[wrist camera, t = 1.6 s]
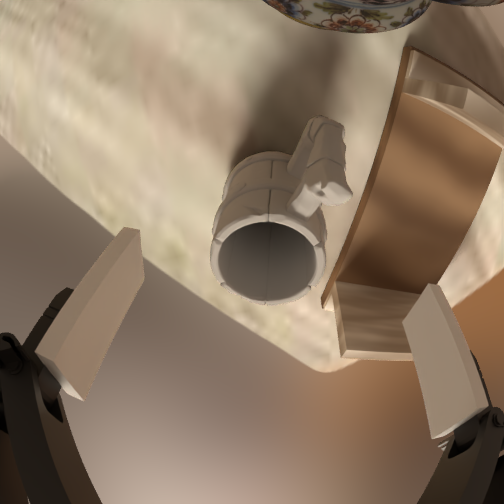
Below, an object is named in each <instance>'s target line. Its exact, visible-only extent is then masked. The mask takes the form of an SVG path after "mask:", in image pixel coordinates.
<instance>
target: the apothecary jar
mask: <svg viewBox="0 0 504 504" xmlns="http://www.w3.org/2000/svg"><path fill="white" fill-rule="evenodd" d="M263 1H264V2H266V3H267V4H268V5H270V6H272V7H273V8H275V9H277V10H278V11H279V12H281V13H282V14H284V15H285V16H287V17H289V18H291V19H293V20H295V21H297V22H299V23H302V24H305V25H308V26H311V27H315V28H319V29H325V30H335V31H341V32H349V33H378V32H384V31H390V30H394V29H398V28H401V27H403V26H405V25H408V24H410V23H412V22H413V21H415V20H416V19H418V18H419V17H420V16H421V15H422V14H423V13H424V12H425V11H426V10H427V8H428V7H429V5H430V4H431V2H432V1H435V2H440V3H446V4H453V5H460V6H491V5H495V4H500V3H502V2H504V0H263Z"/></svg>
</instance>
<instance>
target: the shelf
mask: <svg viewBox="0 0 504 504" xmlns="http://www.w3.org/2000/svg"><path fill="white" fill-rule="evenodd" d="M502 148H503V149H504V104H503V103H502V102H501V101H499V100H498V99H497V98H495V97H494V96H493V95H492V94H490V93H489V92H487V91H486V90H485V89H483V88H482V87H481V86H479V85H478V84H476V83H475V82H473V81H472V80H470V79H469V78H467V77H466V76H464V75H463V74H461V73H460V72H458V71H456V70H455V69H453V68H452V67H450V66H448V65H446V64H445V63H443V62H441V61H439V60H438V59H436V58H434V57H432V56H430V55H428V54H426V53H425V52H423V51H421V50H419V49H417V48H414V47H412V46H409V47H404V48H403V53H402V58H401V63H400V67H399V72H398V76H397V81H396V85H395V89H394V93H393V97H392V101H391V105H390V109H389V112H388V116H387V120H386V123H385V127H384V130H383V134H382V137H381V141H380V144H379V147H378V150H377V154H376V157H375V160H374V163H373V166H372V169H371V172H370V175H369V178H368V181H367V184H366V187H365V190H364V193H363V195H362V198H361V201H360V204H359V207H358V209H357V212H356V215H355V217H354V220H353V223H352V225H351V228H350V230H349V233H348V235H347V238H346V240H345V243H344V245H343V248H342V250H341V253H340V255H339V258H338V260H337V262H336V265H335V267H334V270H333V272H332V274H331V276H330V279H329V281H328V283H327V286H326V288H325V290H324V292H323V295H322V297H321V304H322V308H324V310H328V311H335V318H336V325H337V332H338V339H339V347H340V355H341V358H349V359H366V360H368V359H369V360H393V361H394V360H395V361H414V359H413V355H412V352H411V349H410V345H409V342H408V339H407V336H406V333H405V329H404V326H403V323H402V322H403V320H404V319H405V317H406V316H407V315H408V313H409V312H410V310H411V309H412V307H413V306H414V305H415V303H416V302H417V300H418V299H419V297H420V296H421V294H422V292H423V291H424V289H425V288H426V286H427V285H428V283H429V284H435V285H437V283H438V281H439V280H440V278H441V277H442V275H443V274H444V272H445V270H446V269H447V267H448V265H449V264H450V262H451V260H452V259H453V257H454V255H455V254H456V252H457V250H458V248H459V246H460V245H461V243H462V241H463V239H464V237H465V235H466V233H467V231H468V230H469V228H470V226H471V224H472V222H473V220H474V218H475V215H476V213H477V211H478V209H479V207H480V205H481V203H482V200H483V198H484V196H485V193H486V191H487V189H488V186H489V184H490V181H491V179H492V176H493V174H494V171H495V168H496V165H497V163H498V160H499V157H500V154H501V151H502Z"/></svg>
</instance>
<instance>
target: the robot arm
mask: <svg viewBox="0 0 504 504" xmlns="http://www.w3.org/2000/svg"><path fill="white" fill-rule="evenodd" d="M144 279H145V277H144V269H143V260H142V250H141V239H140V230H138V229H133V228H127V227H124V228H123V229H122V230H121V231H120V232H119V234H118V235H117V236H116V237H115V238H114V240H113V241H112V242H111V243H110V244H109V246H108V247H107V248H106V249H105V251H104V252H103V253H102V254H101V256H100V257H99V258H98V259H97V261H96V262H95V263H94V264H93V266H92V267H91V269H90V270H89V271H88V272H87V274H86V275H85V276H84V278H83V279H82V280H81V282H80V283H79V284H78V286H77V287H76V289H75V290H73V289H70V288H65V289H64V290H62V291H61V292H60V293H58V294H57V295H56V296H55V297H54V299H53V300H52V302H51V303H50V304H49V307H48V308H47V309H46V310H45V312H44V313H43V316H41V317H40V319H39V320H38V322H37V323H36V325H35V326H34V328H33V330H32V331H31V333H30V334H29V336H28V338H27V339H26V341H25V342H24V344H23V345H22V346H21V345H20V343H19V341H18V340H17V339H16V337H15V336H14V335H13V334H11V333H1V334H0V504H29V503H28V499H29V501H30V504H102V502H101V500H100V498H99V497H98V494H97V492H96V490H95V488H94V486H93V484H92V482H91V480H90V478H89V476H88V473H87V471H86V469H85V467H84V464H83V462H82V459H81V457H80V455H79V452H78V449H77V447H76V444H75V441H74V439H73V436H72V433H71V430H70V427H69V423H68V420H67V417H66V414H65V410H64V407H63V403H62V399H61V396H60V394H59V391H60V389H61V387H62V388H63V389H64V390H65V391H66V392H67V393H68V394H70V395H71V396H74V397H76V398H78V399H80V400H82V401H85V400H86V397H87V395H88V392H89V390H90V388H91V385H92V383H93V381H94V379H95V376H96V374H97V372H98V370H99V368H100V365H101V363H102V361H103V359H104V357H105V355H106V353H107V350H108V348H109V346H110V344H111V342H112V340H113V338H114V336H115V334H116V332H117V330H118V328H119V326H120V324H121V322H122V320H123V318H124V316H125V315H126V313H127V311H128V309H129V307H130V305H131V303H132V301H133V299H134V298H135V296H136V294H137V292H138V290H139V288H140V287H141V285H142V283H143V281H144ZM402 323H403V326H404V329H405V333H406V336H407V339H408V342H409V345H410V349H411V352H412V355H413V359H414V362H415V366H416V370H417V374H418V377H419V381H420V385H421V389H422V394H423V398H424V403H425V407H426V412H427V417H428V422H429V427H430V433H431V438H432V439H434V438H438V437H442V436H444V435H446V434H448V433H450V432H451V431H453V430H454V435H452V436H450V437H449V438H447V439H445V440H443V441H442V442H440V444H439V445H438V447H440V446H442V445H444V444H446V443H447V445H445V446H444V447H442V450H444V452H443V455H442V457H441V459H440V461H439V463H438V466H437V468H436V470H435V472H434V474H433V476H432V478H431V480H430V482H429V484H428V485H427V487H426V489H425V491H424V493H423V494H422V496H421V498H420V499H419V501H418V503H417V504H504V455H502V456H500V457H499V453H500V451H502V450H504V413H503V411H501V409H500V408H498V407H492V404H491V401H490V397H489V394H488V391H487V388H486V385H485V382H484V379H483V378H482V373H481V371H480V370H479V369H480V368H479V365H478V362H477V360H476V358H475V356H474V355H473V353H472V352H471V350H469V347H468V345H467V342H466V340H465V338H464V335H463V333H462V331H461V328H460V327H459V324H458V322H457V320H456V318H455V315H454V313H453V311H452V309H451V307H450V305H449V303H448V301H447V299H446V297H445V295H444V293H443V291H442V289H441V288H440V286H439V285H435V284H429V283H428V285H427V286H426V288H425V289H424V291H423V292H422V294H421V296H420V297H419V299H418V300H417V302H416V303H415V305H414V306H413V307H412V309H411V310H410V312H409V313H408V315H407V316H406V317H405V319H404V320H403V322H402ZM498 457H499V458H498ZM27 497H28V498H27Z"/></svg>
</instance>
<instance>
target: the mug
mask: <svg viewBox="0 0 504 504" xmlns="http://www.w3.org/2000/svg"><path fill="white" fill-rule="evenodd" d="M344 136H345V129H344V126H343V125H342V124H340V123H338V122H336V121H333V120H331V119H329V118H327V117H324V116H322V115H318V116H315V117H313V118H311V119H310V120H309V121H308V123H307V125H306V127H305V129H304V131H303V133H302V136H301V138H300V141H299V143H298V145H297V147H296V149H295V151H294V153H293V155H292V156H291V155H289V154H286V153H283V152H278V151H274V152H272V151H265V152H261V153H257V154H254V155H251V156H249V157H247V158H245V159H244V160H242V161H241V162H240V163H239V164H237V165H236V166H235V167H234V169H233V170H232V171H231V173H230V174H229V176H228V178H227V180H226V182H225V186H224V190H223V195H222V201H223V202H222V203H221V205H220V206H219V208H218V211H217V213H216V216H215V219H214V224H213V228H212V234H213V240H212V244H211V250H210V264H211V268H212V271H213V274H214V276H215V278H216V280H217V281H218V283H221V284H220V285H221V286H222V287H224V288H225V289H226V290H227V291H228V292H229V293H231V294H236V295H239V296H241V298H243V299H246V300H248V301H249V302H251V303H255V304H260V305H265V304H267V305H281V304H286V303H290V302H293V301H296V300H298V299H300V298H302V297H303V296H305V295H306V294H307V293H308V292H309V291H310V290H311V286H314V287H316V286H317V284H318V283H319V282H320V280H321V278H322V276H323V274H324V270H325V266H326V252H325V242H326V240H327V230H326V224H325V219H324V216H323V212H322V210H321V206H322V203H323V204H325V205H327V206H337V205H342V204H344V203H346V202H348V201H349V200H350V199H351V197H352V196H353V193H352V191H351V189H350V187H349V186H348V184H347V182H346V176H345V171H346V162H345V151H346V145H345V143H344V142H343V138H344Z"/></svg>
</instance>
